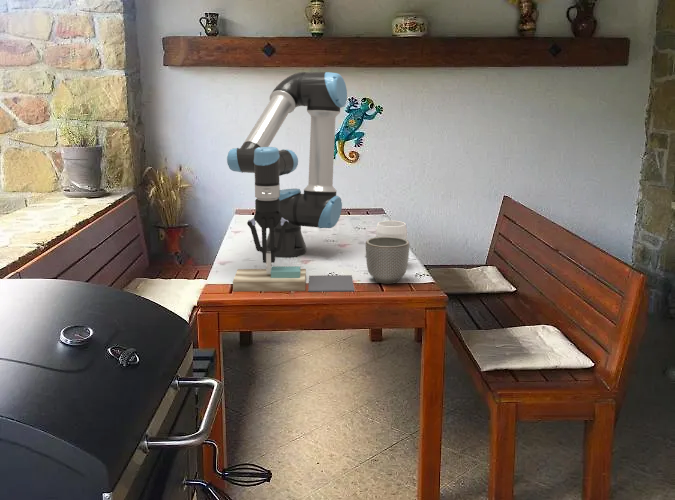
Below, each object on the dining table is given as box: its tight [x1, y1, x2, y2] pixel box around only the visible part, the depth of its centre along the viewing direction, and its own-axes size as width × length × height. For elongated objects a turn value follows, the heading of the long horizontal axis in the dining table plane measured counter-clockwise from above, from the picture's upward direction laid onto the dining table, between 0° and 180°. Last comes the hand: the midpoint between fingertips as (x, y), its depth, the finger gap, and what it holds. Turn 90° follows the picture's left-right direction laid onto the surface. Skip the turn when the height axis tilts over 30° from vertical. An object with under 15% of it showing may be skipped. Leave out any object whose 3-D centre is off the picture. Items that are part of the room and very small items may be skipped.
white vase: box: [375, 220, 408, 240], centre depth 244 cm, size 11×11×15 cm
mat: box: [307, 274, 355, 293], centre depth 226 cm, size 16×14×1 cm
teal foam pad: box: [271, 265, 302, 278], centre depth 224 cm, size 9×6×2 cm, turn 91°
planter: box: [365, 236, 410, 285], centre depth 228 cm, size 14×14×13 cm
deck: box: [232, 268, 307, 292], centre depth 225 cm, size 14×22×3 cm, turn 92°
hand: (269, 272), depth 225 cm, fingers closed
